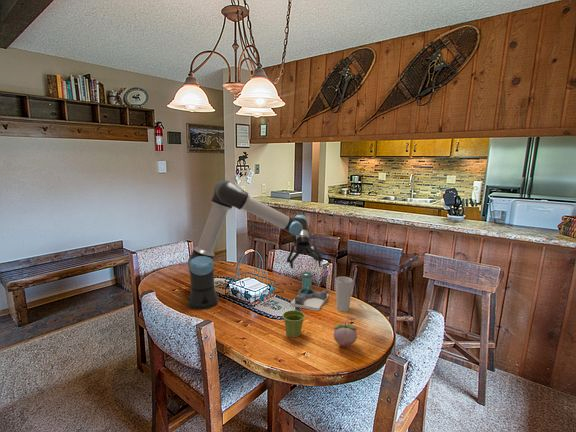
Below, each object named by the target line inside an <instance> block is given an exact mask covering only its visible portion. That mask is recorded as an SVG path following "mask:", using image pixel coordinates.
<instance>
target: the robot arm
mask: <svg viewBox="0 0 576 432" xmlns="http://www.w3.org/2000/svg"><path fill="white" fill-rule="evenodd" d="M210 202H211V203H212V204H211V205H212V206H211V208H210V212H209V215H208V218H207V220H206V223H205V225H204V229H203V231H202V234H201V236H200V239H199V242H198V245H196V246H195V247H193V250H192V252H191V254H190V256H189V257H188V260H187V265H188V271H189V277H190V293H189V294H188V295H189V296H188V300H187V304H188V305H187V306H188V307H189V308H191V309H193V310H207V309H210V308H213V307H215V306H217V304H218V303H219V296H218V294H217V292H216V288H215V271H214V268H215V264H214V261H213V260H214V257H215V255H216V254H215V253H214V250H215V246H216V243H217V241H218V238H219V236H220V233H221V230H222V227H223V225H224V222H225V219H226V217H227V213H228V211H230V210H231V209H232V208H235V209H238V210H244V211H246V212H249V213H250V214H252V215H254V216H257V217H258V218H260V219H262V220H264V221H266V222H268V223H269V224H272V225H273V226H275V227H276V228H277V229H282V230H284V231H285V232H286V233H290V234H291V235H293V236H295V243H296V246H294V245H292V246H291V251H290V252H289V254H288V256H287V259H286V263H289V266H290V269H292V275H295V274H296V270H295V267H296V266H295V260H296V259H297V258H298V256H300V254H301V255H309V256H310V257H311V258H312V259H314V261H316V262H315V263H316V265H315V266H316V274H320V272H321V271H320V268H321V266H322V265H321V262H323V261H324V258H323V256H322V255H321V253H320V252H319V250H318V249H317V247H316V245H313V246H311V245H310V236H309V228H308V220H307V217H306V216H305V215H304V214H297V215H295V216H294V217H293V216H292V217H291V216H288V215H286V214H284V213H283V212H281V211H279V210H276V209H275V208H273V207H271V206H269V205H268V204H266V203H264V202H262V201H260V200H258V199H257V198H254V197H252V196H251V195H250V193H249V192H248V191H246V190H244V189H242V188H241V187H240V186H238V185H237V184H236V183H234V182H232V181H230V180H225V179H224V180H221V181H219V182H217V183H216V185H215V186H214V188H213V195H212V197H211V201H210ZM294 251H297V252H296V253H295V254H294ZM312 251H313V252H312Z"/></svg>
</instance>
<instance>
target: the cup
mask: <svg viewBox="0 0 576 432" xmlns="http://www.w3.org/2000/svg"><path fill="white" fill-rule="evenodd" d="M334 280H335V283H334V284H335V298H336V300H335V301H336V310H338V311H339V312H345V313H346V312H349V310H350V307H351V297H352V291H353V290H352V289H353V283H354V282H353V281H354V280H353V278H351V277H348V276H342V275H341V276H337V277H335V279H334Z"/></svg>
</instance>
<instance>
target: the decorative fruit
mask: <svg viewBox="0 0 576 432" xmlns="http://www.w3.org/2000/svg"><path fill="white" fill-rule="evenodd" d="M332 329H334V330H333V339H334V341H335V342H336V343H337V344H338V345H340V346H342V347H350V346H351V345H353V344H354V343H355V342H356V341H357V339H358V334H357V331H356V330H358V328H357V327H356V326H354V325H353V324H348V323H345V322H344V323H340V324H337V325H335V326H334V327H333V328H332Z"/></svg>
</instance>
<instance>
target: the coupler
mask: <svg viewBox="0 0 576 432" xmlns="http://www.w3.org/2000/svg"><path fill="white" fill-rule="evenodd" d="M301 275H302V278H301V282H302V283H301V289H302V293H305V294H311V289H312V272H309V271H305V272H302V274H301Z"/></svg>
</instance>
